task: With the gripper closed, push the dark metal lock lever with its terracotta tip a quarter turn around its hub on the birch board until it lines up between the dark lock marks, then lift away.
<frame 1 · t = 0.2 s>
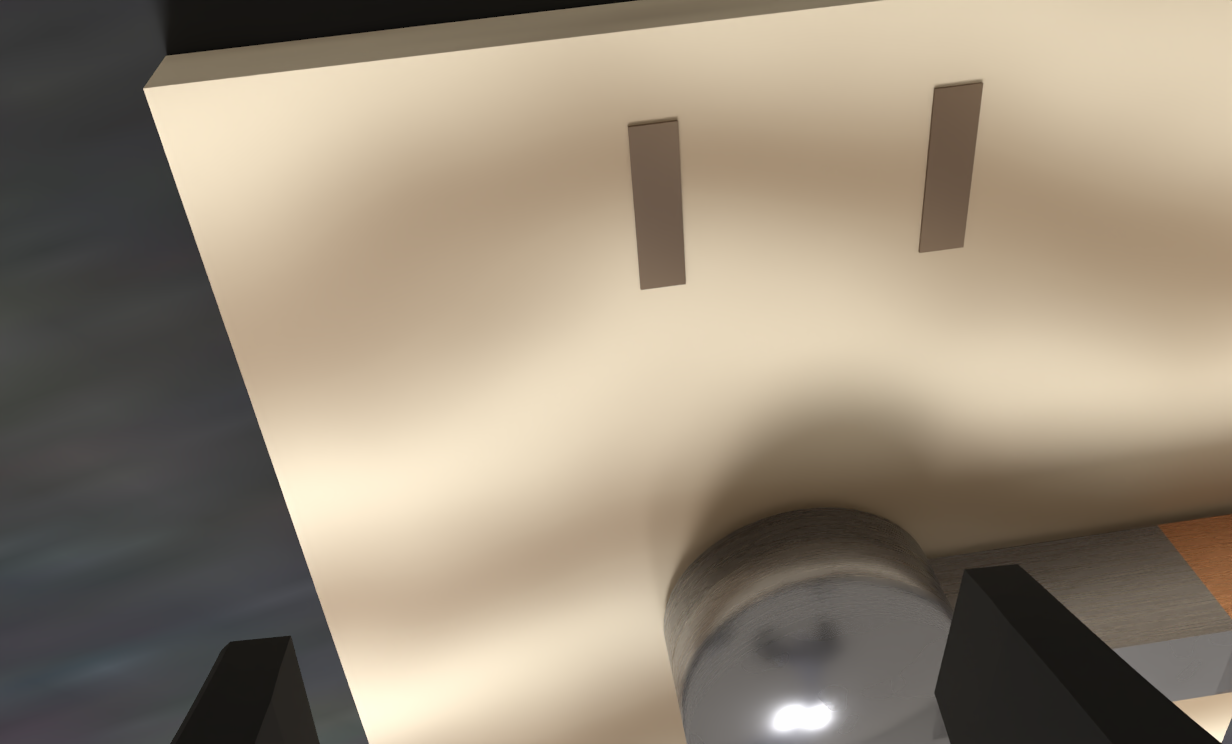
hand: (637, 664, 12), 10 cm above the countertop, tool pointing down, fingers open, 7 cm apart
lock lever: (1025, 631, 22), point 3 cm above the countertop, hinge at 0.0°
lock board: (822, 482, 24), on the countertop
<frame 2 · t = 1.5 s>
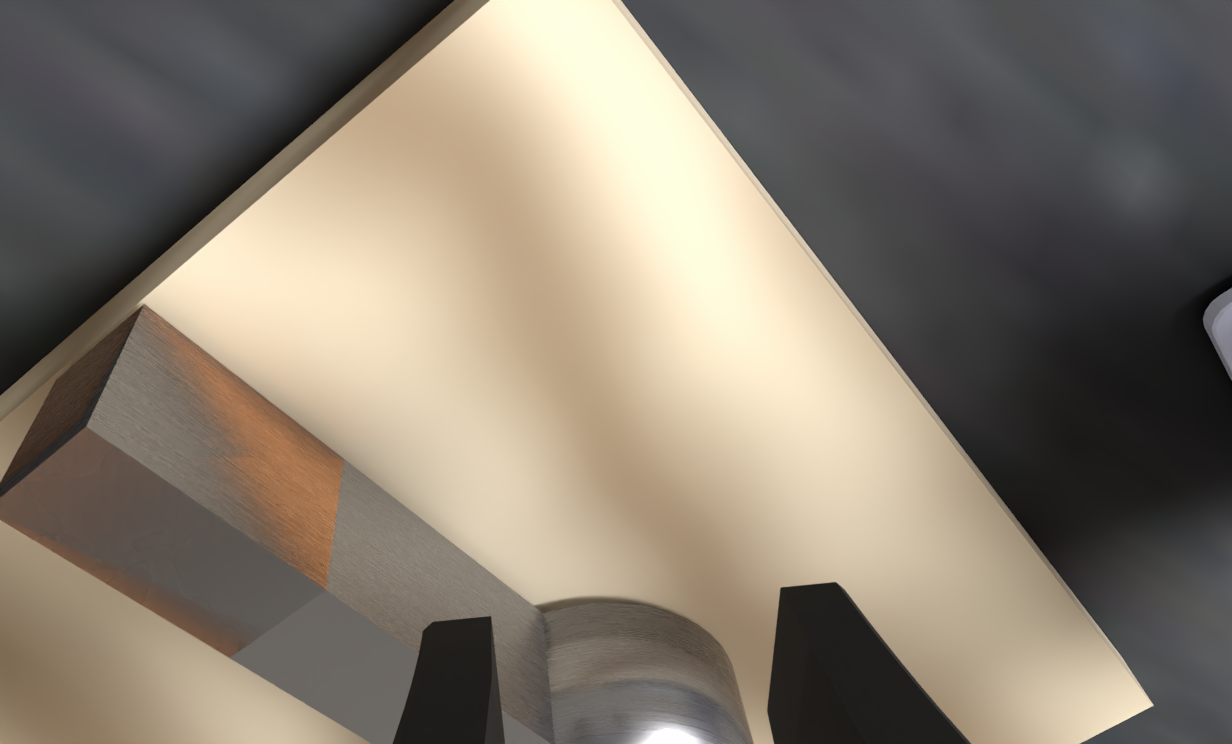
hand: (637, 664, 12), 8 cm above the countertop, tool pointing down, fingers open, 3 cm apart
lock lever: (443, 658, 19), point 3 cm above the countertop, hinge at 0.0°
lock board: (486, 661, 24), on the countertop
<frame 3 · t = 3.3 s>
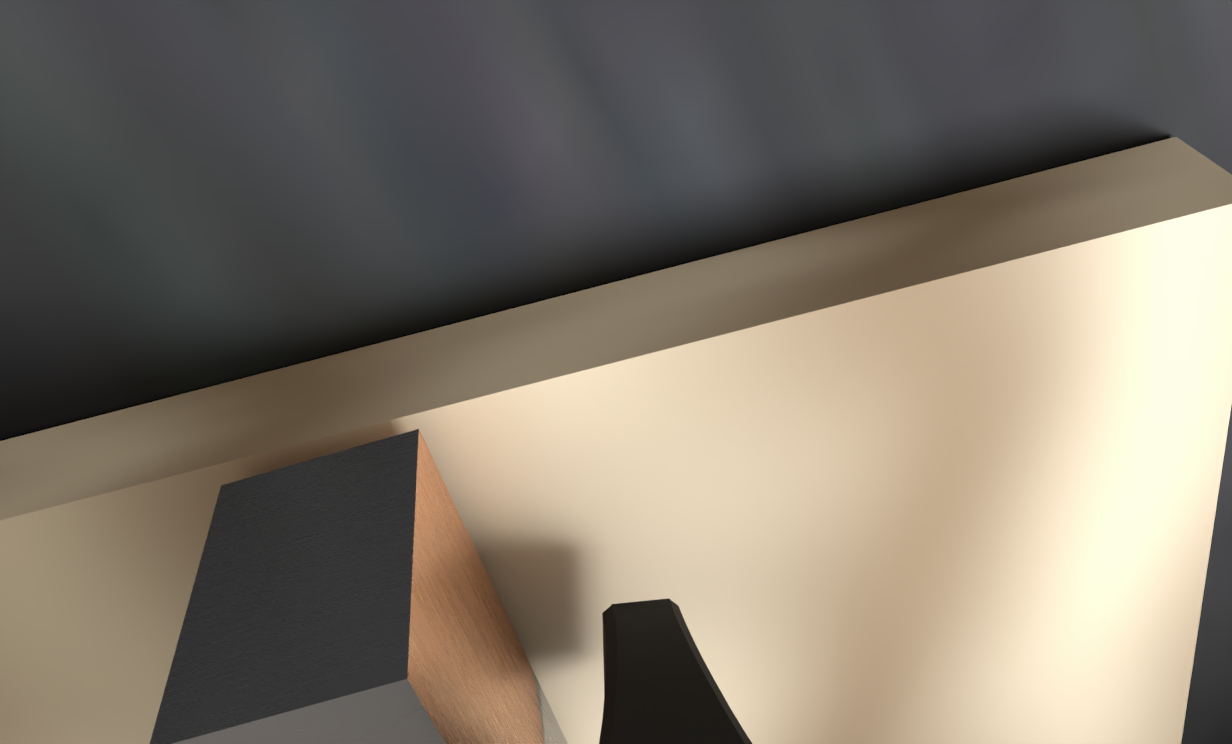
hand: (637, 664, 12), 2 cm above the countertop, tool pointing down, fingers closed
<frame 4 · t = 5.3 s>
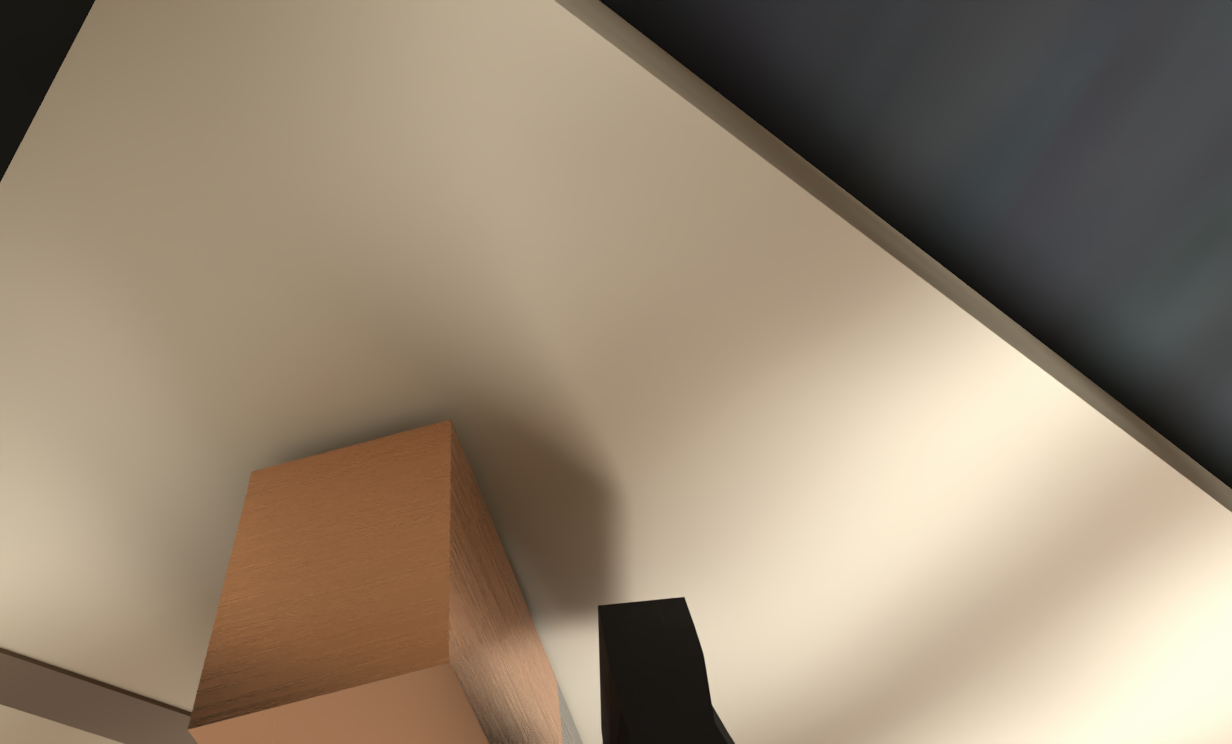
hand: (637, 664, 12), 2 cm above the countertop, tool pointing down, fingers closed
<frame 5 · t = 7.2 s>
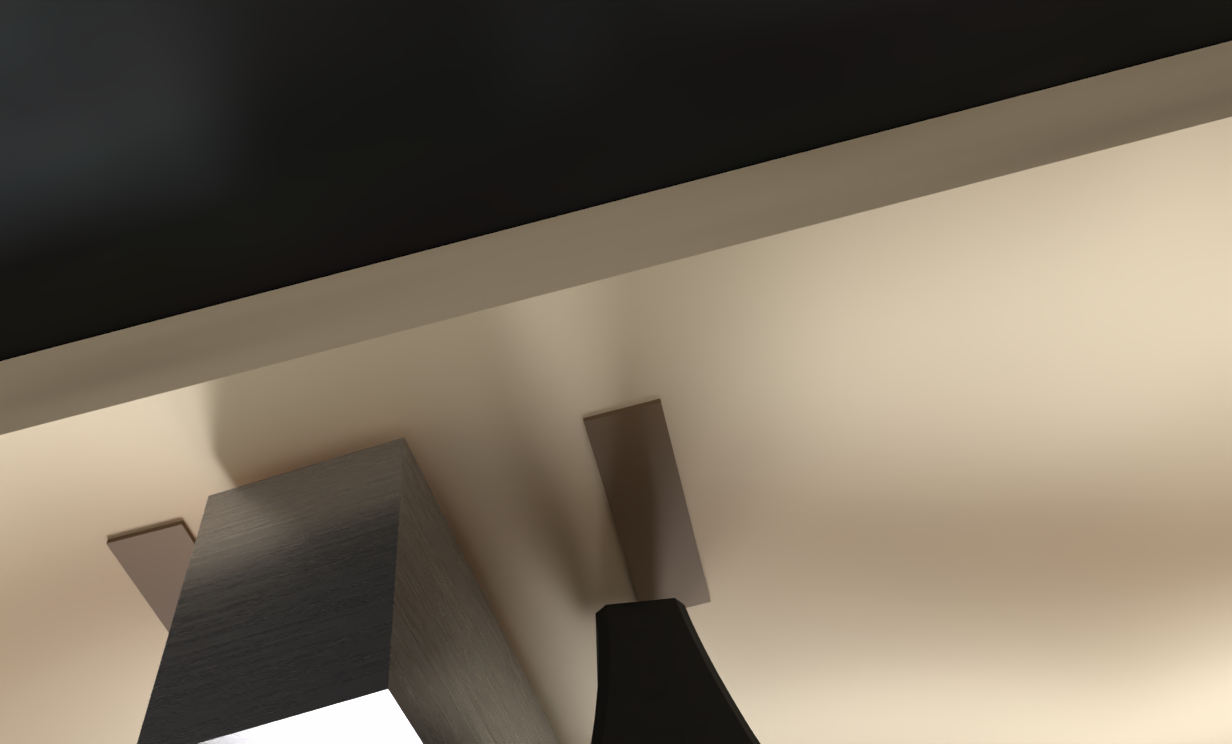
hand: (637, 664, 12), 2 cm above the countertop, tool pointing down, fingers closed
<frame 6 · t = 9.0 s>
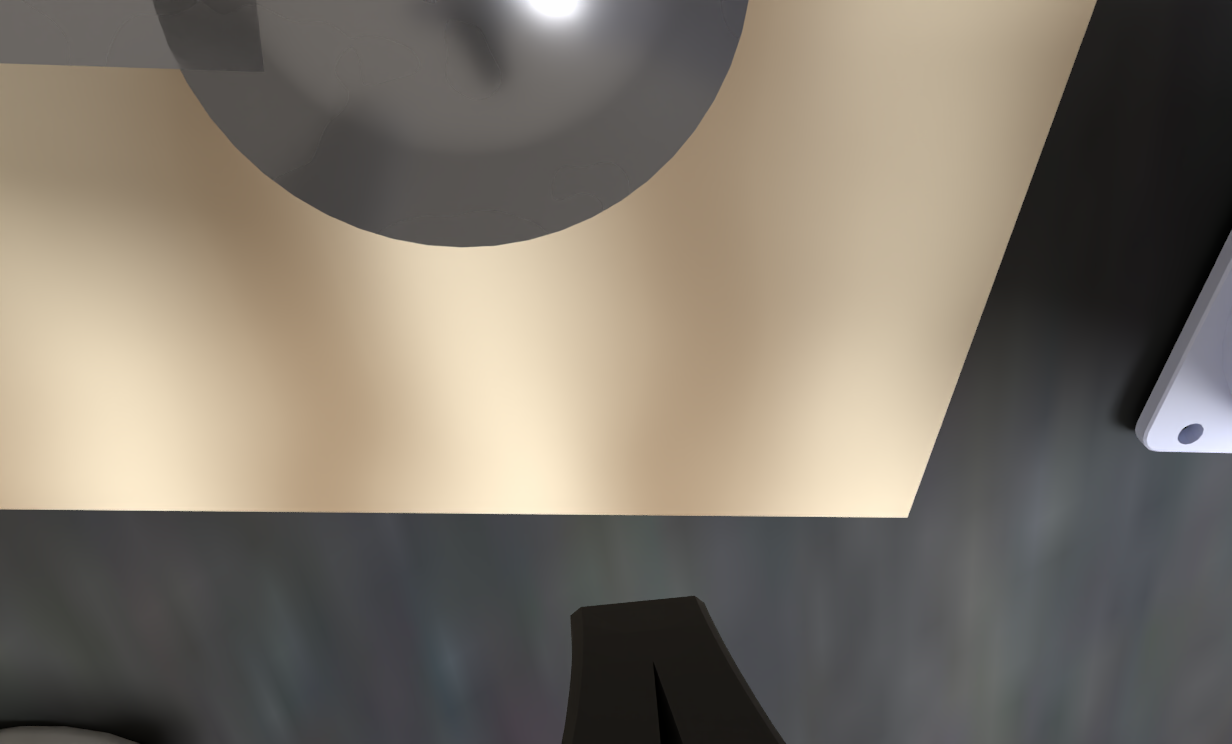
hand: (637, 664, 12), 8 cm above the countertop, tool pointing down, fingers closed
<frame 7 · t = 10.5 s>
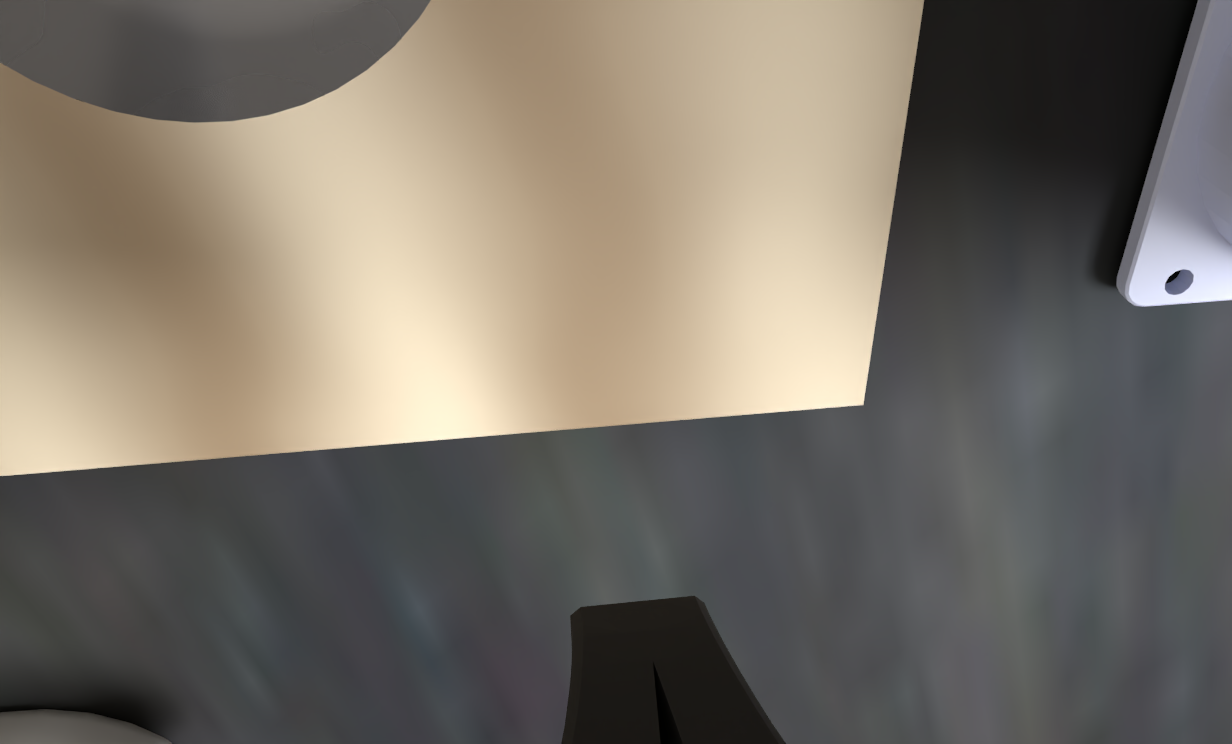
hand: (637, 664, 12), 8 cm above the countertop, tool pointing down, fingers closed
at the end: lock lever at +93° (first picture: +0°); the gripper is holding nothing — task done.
